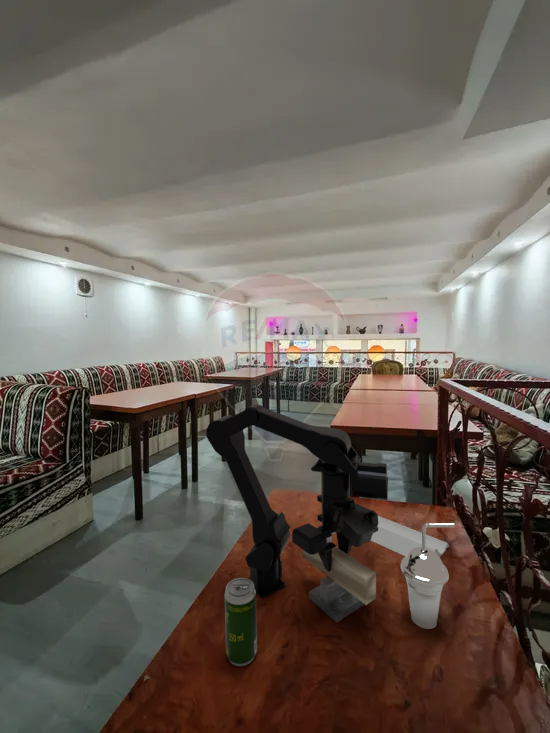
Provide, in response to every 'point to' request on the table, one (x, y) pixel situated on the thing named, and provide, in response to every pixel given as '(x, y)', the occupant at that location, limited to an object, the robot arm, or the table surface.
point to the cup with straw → (425, 580)
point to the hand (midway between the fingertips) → (335, 566)
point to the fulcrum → (334, 599)
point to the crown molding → (404, 538)
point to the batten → (348, 574)
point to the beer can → (240, 621)
